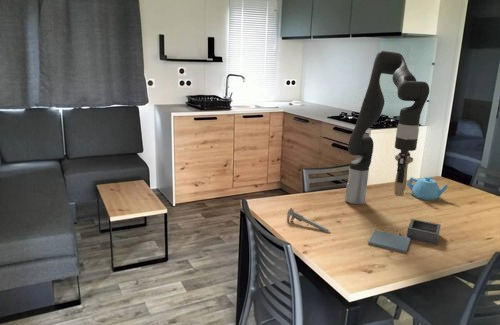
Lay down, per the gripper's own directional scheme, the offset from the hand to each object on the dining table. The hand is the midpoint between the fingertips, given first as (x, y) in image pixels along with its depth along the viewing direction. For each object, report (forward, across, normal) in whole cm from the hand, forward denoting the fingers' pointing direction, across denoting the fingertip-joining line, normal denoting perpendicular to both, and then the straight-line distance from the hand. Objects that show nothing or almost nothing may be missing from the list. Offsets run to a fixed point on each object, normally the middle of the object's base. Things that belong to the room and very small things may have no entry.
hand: (400, 180), depth 154 cm
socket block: (+25, -12, +10) cm, 30 cm away
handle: (+6, 0, 0) cm, 6 cm away
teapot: (+26, -67, +7) cm, 72 cm away
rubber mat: (+25, +1, -1) cm, 25 cm away
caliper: (+26, +3, -34) cm, 43 cm away
